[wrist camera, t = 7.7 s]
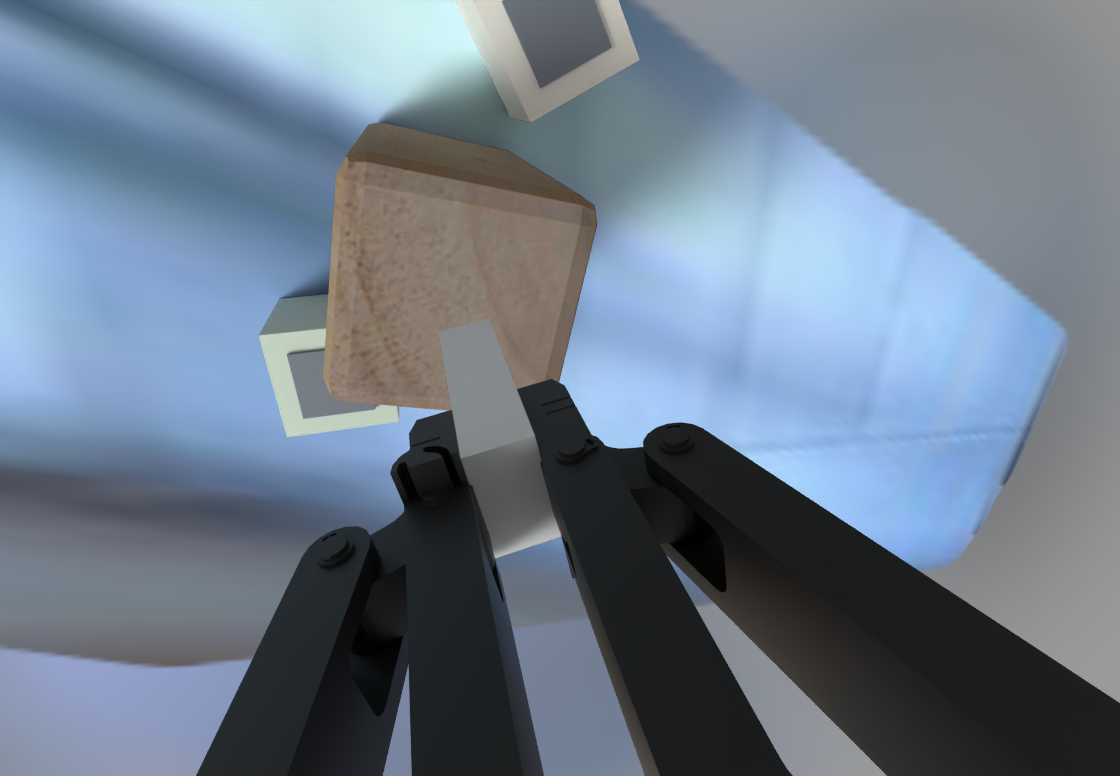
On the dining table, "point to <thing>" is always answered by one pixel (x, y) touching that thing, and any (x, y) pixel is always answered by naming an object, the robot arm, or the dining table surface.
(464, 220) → the wooden block
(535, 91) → the cream labelled cube
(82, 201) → the dining table surface
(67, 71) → the dining table surface
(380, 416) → the sage labelled cube
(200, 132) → the dining table surface
